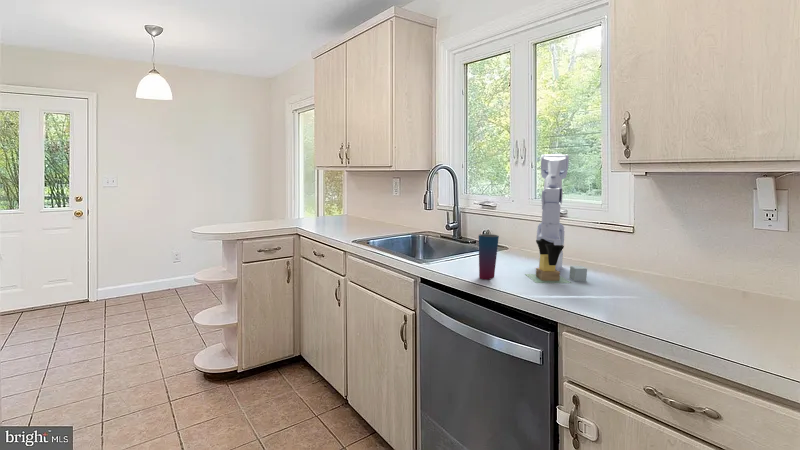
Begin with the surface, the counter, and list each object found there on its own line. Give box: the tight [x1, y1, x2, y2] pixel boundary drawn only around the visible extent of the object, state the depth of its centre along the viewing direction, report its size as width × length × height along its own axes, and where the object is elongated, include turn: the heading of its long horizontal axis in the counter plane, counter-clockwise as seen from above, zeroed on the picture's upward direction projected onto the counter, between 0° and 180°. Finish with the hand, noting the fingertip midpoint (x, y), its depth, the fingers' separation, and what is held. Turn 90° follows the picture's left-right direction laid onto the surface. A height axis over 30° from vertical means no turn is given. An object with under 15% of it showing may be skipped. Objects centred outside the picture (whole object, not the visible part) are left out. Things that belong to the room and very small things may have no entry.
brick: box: [569, 265, 588, 282], centre depth 144 cm, size 4×4×5 cm
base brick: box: [535, 268, 561, 281], centre depth 145 cm, size 6×6×3 cm
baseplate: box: [524, 273, 572, 284], centre depth 145 cm, size 12×12×1 cm
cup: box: [478, 233, 500, 281], centre depth 146 cm, size 7×7×15 cm
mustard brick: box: [538, 254, 556, 271], centre depth 145 cm, size 4×4×5 cm
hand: (548, 262), depth 145 cm, fingers open, 7 cm apart
